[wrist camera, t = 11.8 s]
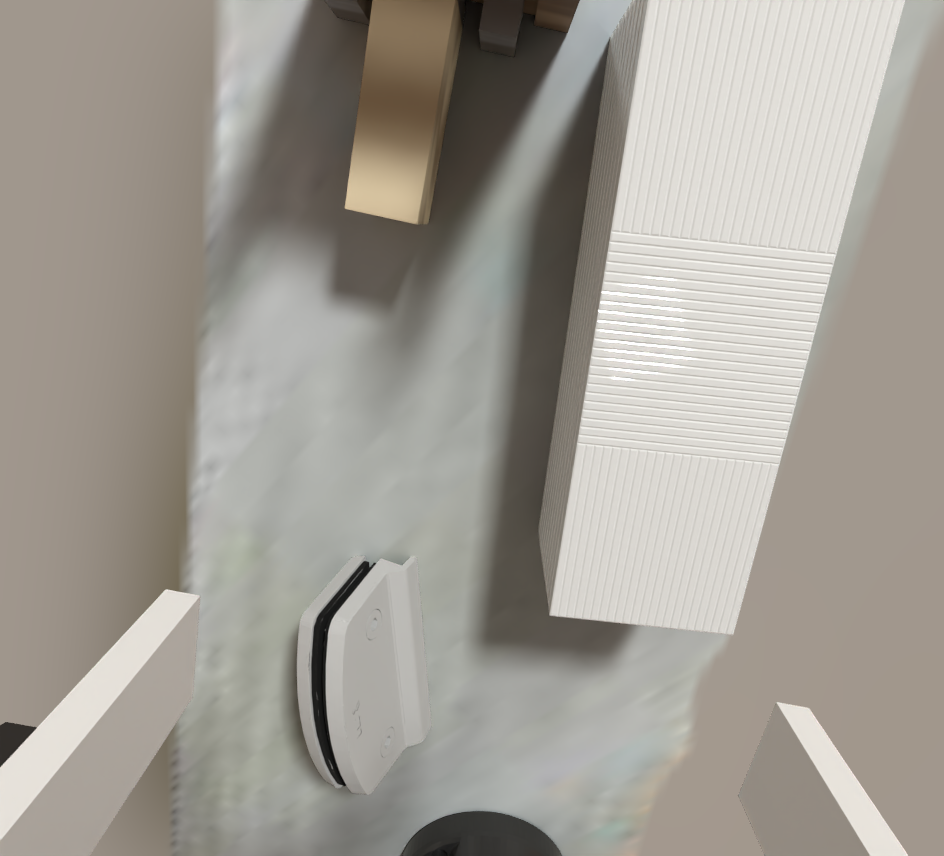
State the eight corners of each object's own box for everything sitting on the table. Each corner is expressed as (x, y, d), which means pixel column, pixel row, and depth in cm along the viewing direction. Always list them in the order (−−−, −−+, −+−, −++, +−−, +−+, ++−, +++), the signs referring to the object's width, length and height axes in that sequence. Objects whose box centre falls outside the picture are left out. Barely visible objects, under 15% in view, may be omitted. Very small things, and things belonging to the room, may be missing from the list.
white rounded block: (432, 730, 52) (370, 835, 43) (382, 716, 54) (314, 814, 45) (416, 552, 47) (343, 631, 38) (362, 544, 49) (280, 616, 40)
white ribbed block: (609, 38, 36) (653, -35, 26) (792, 56, 36) (908, -9, 26) (537, 529, 46) (549, 616, 36) (680, 544, 46) (733, 635, 36)
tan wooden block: (428, 224, 40) (416, 224, 34) (366, 210, 40) (344, 208, 34) (465, 9, 36) (460, -31, 30) (397, -6, 36) (379, -50, 30)
